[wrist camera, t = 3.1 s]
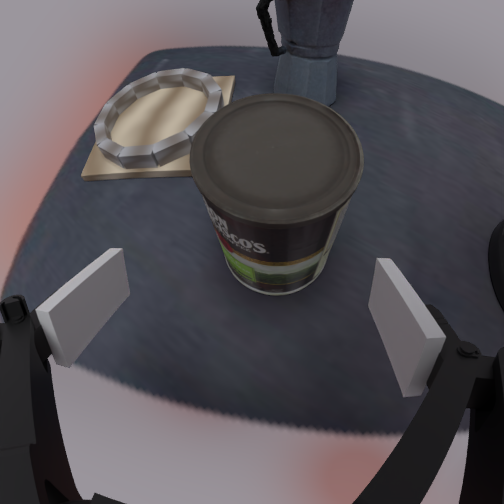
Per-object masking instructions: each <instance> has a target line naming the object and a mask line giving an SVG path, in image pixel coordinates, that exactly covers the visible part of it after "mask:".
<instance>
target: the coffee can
mask: <svg viewBox="0 0 504 504" xmlns="http://www.w3.org/2000/svg"><path fill="white" fill-rule="evenodd" d="M189 163H190V170H191V173H192V177H193V179H194V181H195V184H196V185H197V187H198V189H199V191H200V193H201V194H202V197H203V199H204V202H205V204H206V207H207V210H208V213H209V215H210V218H211V221H212V223H213V226H214V228H215V231H216V233H217V236H218V239H219V241H220V244H221V247H222V249H223V252H224V255H225V259H226V262H227V265H228V267H229V269H230V271H231V272H232V274H233V275H234V276H235V278H236V279H237V280H238V281H240V282H241V283H242V284H243V285H245V286H246V287H248V288H249V289H251V290H254V291H256V292H259V293H262V294H267V295H286V294H291V293H294V292H297V291H299V290H301V289H303V288H305V287H306V286H308V285H309V284H311V283H312V282H313V281H314V280H315V279H316V278H317V277H318V276H319V274H320V273H321V271H322V270H323V268H324V266H325V263H326V261H327V257H328V254H329V252H330V249H331V247H332V245H333V242H334V240H335V238H336V235H337V232H338V230H339V228H340V225H341V223H342V220H343V217H344V215H345V212H346V210H347V207H348V205H349V202H350V199H351V197H352V195H353V193H354V192H355V190H356V188H357V186H358V184H359V182H360V179H361V176H362V172H363V166H364V156H363V150H362V146H361V143H360V141H359V138H358V136H357V134H356V133H355V131H354V130H353V128H352V127H351V126H350V124H349V123H348V122H347V121H346V120H345V119H344V118H343V117H342V116H341V115H339V114H338V113H337V112H336V111H334V110H333V109H331V108H330V107H328V106H326V105H324V104H322V103H320V102H318V101H315V100H312V99H309V98H306V97H302V96H298V95H292V94H281V93H271V94H260V95H253V96H249V97H245V98H242V99H239V100H236V101H234V102H232V103H229V104H228V105H226V106H224V107H222V108H221V109H219V110H218V111H216V112H215V113H214V114H212V115H211V116H210V117H209V118H208V119H207V120H206V121H205V122H204V123H203V124H202V126H201V127H200V128H199V130H198V131H197V133H196V135H195V137H194V139H193V142H192V145H191V149H190V158H189Z"/></svg>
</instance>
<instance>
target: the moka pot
mask: <svg viewBox="0 0 504 504" xmlns="http://www.w3.org/2000/svg"><path fill="white" fill-rule="evenodd" d="M271 1H273V0H260V1H259V3H258V5H257V7H256V10H257V15H258V18H259V19H260V21H261V25H262V29H263V31H264V32H265V33H264V34H265V38H266V40H267V42H268V47H269V50H270V52H271V55H272V56H280V58H279V62H278V67H277V72H276V76H275V82H274V89H273V93H281V94H292V95H298V96H302V97H306V98H309V99H312V100H315V101H318V102H320V103H322V104H324V105H326V106H330V105H331V104H332V103H334V101H335V100H336V84H337V51H338V49H339V43H340V41H341V39H342V36H343V34H344V31H345V27H346V24H347V21H348V17H349V14H350V11H351V8H352V4H353V1H354V0H275V6H276V14H277V23H278V30H279V32H280V33H281V38H282V39H281V43H282V46H281V47H279V48H278V46H277V43H276V41H275V39H274V34H273V29H272V25H271V23H272V20H271V19H272V18H270V15H269V12H268V7H269V4H270V2H271Z"/></svg>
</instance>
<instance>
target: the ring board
mask: <svg viewBox="0 0 504 504" xmlns="http://www.w3.org/2000/svg"><path fill="white" fill-rule="evenodd" d="M234 86H235V76H220V77H212V76H211V75H209V74H207V73H203V72H199V71H195V70H191V69H185V68H182V69H174V70H166V71H159V72H157V74H156V72H155V73H153V74H150V75H148V76H146V77H143V78H141V79H139V80H137V81H134V82H132V83H130V85H127V86H126V87H124V88H123V89H122V90H121V91H120V92H118V93H117V94H116V95H115V96H114V97H113V98H111V99H110V100H109V101H108V102H107V104H105V106H104V107H103V109H102V111H101V113H100V115H99V117H98V118H97V120H96V122H95V124H94V125H95V126H94V130H95V137H96V143H95V145H94V147H93V149H92V151H91V153H90V156H89V158H88V160H87V163H86V165H85V167H84V170H83V172H82V174H81V177H82V178H83V179H84V181H94V180H108V179H126V178H148V177H184V176H192V173H191V170H190V163H189V158H190V149H191V145H192V142H193V139H194V137H195V135H196V133H197V131H198V130H199V128H200V127H201V126H202V124H203V123H204V122H205V121H206V120H207V119H208V118H209V117H210V116H211V115H212V114H214V113H215V112H216V111H218V110H219V109H221V108H222V107H224V106H226V105H228V104H229V103H231V100H232V95H233V91H234Z"/></svg>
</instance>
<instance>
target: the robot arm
mask: <svg viewBox="0 0 504 504" xmlns="http://www.w3.org/2000/svg"><path fill="white" fill-rule="evenodd" d="M489 267H490V273H491V278H492V283H493V286H494V289H495V292H496V295H497V297H498V300H499V302H500V304H501V306H502V308H503V310H504V220H503V221H501V222H500V223H499V224H498V225H497V227H496V228H495V230H494V232H493V234H492V237H491V241H490V246H489ZM129 295H130V290H129V285H128V279H127V273H126V267H125V261H124V255H123V249H120V248H110V249H109V250H108V251H106V252H105V253H104V254H103V255H101V256H100V257H99V258H97V259H96V260H95V261H93V262H92V263H91V264H90V265H88V266H87V267H86V268H85V269H83V270H82V271H81V272H80V273H78V274H77V275H76V276H75V277H73V278H72V279H71V280H70V281H68V282H67V283H66V284H65V285H64V286H62V287H61V288H60V289H58V290H57V291H55V292H54V293H53V294H52V295H50V297H48V298H47V299H46V300H45V302H44V301H43V302H42V303H41V304H40V305H39V306H38V307H36V308H35V309H34V310H33V311H32V312H31V313H29V310H28V307H27V304H26V301H25V298H24V296H22V295H13V296H10V297H7V298H6V299H4V300H3V301H2V302H0V311H1V314H2V316H3V319H4V321H5V323H0V504H125V503H122V502H119V501H116V500H113V499H110V498H108V497H105V496H102V495H100V494H97V493H94V496H93V498H92V500H83V499H82V497H81V496H80V494H79V493H78V491H77V488H76V486H75V483H74V479H73V476H72V473H71V469H70V466H69V462H68V458H67V455H66V451H65V447H64V443H63V438H62V434H61V429H60V424H59V420H58V414H57V409H56V403H55V397H54V390H53V383H52V375H51V367H50V363H49V361H48V359H47V358H48V357H49V356H50V355H51V354H52V355H53V357H54V360H55V362H56V364H58V365H61V366H64V367H68V368H70V367H71V365H72V364H73V363H74V361H75V360H76V359H77V358H78V356H79V355H80V354H81V353H82V351H83V350H84V349H85V348H86V346H87V345H88V344H89V343H90V341H91V340H92V339H93V338H94V336H95V335H96V334H97V333H98V332H99V330H100V329H101V328H102V327H103V325H104V324H105V323H106V322H107V321H108V319H109V318H110V317H111V316H112V315H113V314H114V312H115V311H116V310H117V309H118V308H119V306H120V305H121V304H122V303H123V302H124V301H125V299H126V298H127V297H128V296H129ZM368 307H369V310H370V312H371V314H372V317H373V319H374V321H375V324H376V326H377V329H378V331H379V334H380V336H381V339H382V341H383V344H384V346H385V349H386V351H387V354H388V357H389V359H390V362H391V364H392V367H393V370H394V372H395V375H396V378H397V381H398V383H399V386H400V389H401V392H402V395H403V397H412V396H420V395H422V393H423V391H424V388H425V386H426V384H427V386H428V388H429V392H428V393H427V395H426V397H425V399H424V401H423V403H422V404H421V406H420V408H419V410H418V411H417V413H416V415H415V417H414V418H413V420H412V422H411V423H410V425H409V427H408V428H407V430H406V431H405V433H404V435H403V436H402V438H401V439H400V441H399V442H398V444H397V446H396V447H395V448H394V450H393V451H392V453H391V454H390V456H389V457H388V458H387V460H386V461H385V463H384V464H383V465H382V467H381V468H380V470H379V471H378V472H377V474H376V475H375V477H374V478H373V479H372V480H371V482H370V483H369V484H368V485H367V487H366V488H365V489H364V490H363V492H362V493H361V494H360V495H359V497H358V498H357V499H356V500H355V501H354V502H353V503H352V504H420V503H421V502H422V500H423V498H424V497H425V495H426V493H427V491H428V490H429V488H430V486H431V484H432V482H433V480H434V479H435V477H436V475H437V473H438V471H439V469H440V467H441V465H442V463H443V461H444V459H445V457H446V455H447V452H448V450H449V448H450V446H451V444H452V441H453V439H454V437H455V434H456V432H457V429H458V427H459V424H460V422H461V419H462V417H463V414H464V411H465V409H466V408H470V427H469V439H468V449H467V458H466V466H465V472H464V478H463V485H462V490H461V495H460V500H459V504H504V347H503V348H501V349H500V350H499V351H498V353H497V355H496V357H488V356H481V352H480V350H479V349H478V348H477V347H476V346H475V345H473V344H471V343H469V342H466V341H460V339H459V338H458V336H457V335H456V333H455V332H454V331H453V329H452V328H451V326H450V325H448V322H447V321H446V319H444V316H443V315H442V314H441V312H440V311H439V310H438V309H436V308H435V307H434V306H432V305H424V303H423V302H422V300H421V299H420V298H419V296H418V295H417V293H416V292H415V291H414V289H413V288H412V287H411V285H410V284H409V282H408V281H407V280H406V278H405V277H404V276H403V274H402V273H401V272H400V270H399V269H398V268H397V266H396V265H395V264H394V262H393V261H392V260H391V259H389V258H377V259H376V265H375V271H374V277H373V283H372V288H371V294H370V299H369V304H368Z"/></svg>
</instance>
